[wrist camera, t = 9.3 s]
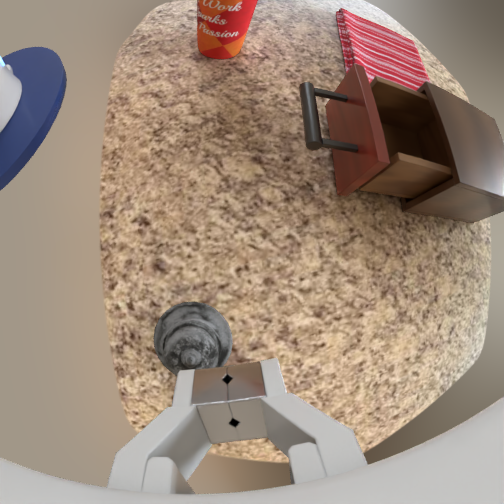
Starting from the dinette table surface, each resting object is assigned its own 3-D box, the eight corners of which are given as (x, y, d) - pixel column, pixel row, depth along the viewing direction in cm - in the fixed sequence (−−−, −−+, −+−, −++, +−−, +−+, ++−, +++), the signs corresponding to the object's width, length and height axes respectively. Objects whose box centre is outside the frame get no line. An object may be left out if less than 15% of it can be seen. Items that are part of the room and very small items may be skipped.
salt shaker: (161, 299, 24) (130, 292, 13) (229, 304, 25) (256, 302, 14) (158, 366, 23) (128, 413, 12) (226, 371, 24) (251, 420, 13)
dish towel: (347, 102, 32) (356, 90, 30) (332, 13, 37) (337, 3, 35) (442, 140, 35) (453, 133, 33) (411, 46, 40) (417, 39, 37)
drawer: (290, 190, 27) (322, 150, 20) (284, 98, 30) (306, 50, 22) (431, 208, 31) (476, 187, 23) (413, 129, 33) (448, 100, 25)
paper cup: (177, 47, 30) (180, -43, 16) (218, 25, 32) (232, -55, 18) (221, 73, 30) (240, -25, 16) (261, 49, 32) (289, -35, 18)
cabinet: (402, 212, 31) (460, 182, 21) (384, 122, 33) (425, 80, 24) (472, 223, 33) (521, 204, 24) (454, 146, 36) (494, 119, 26)
